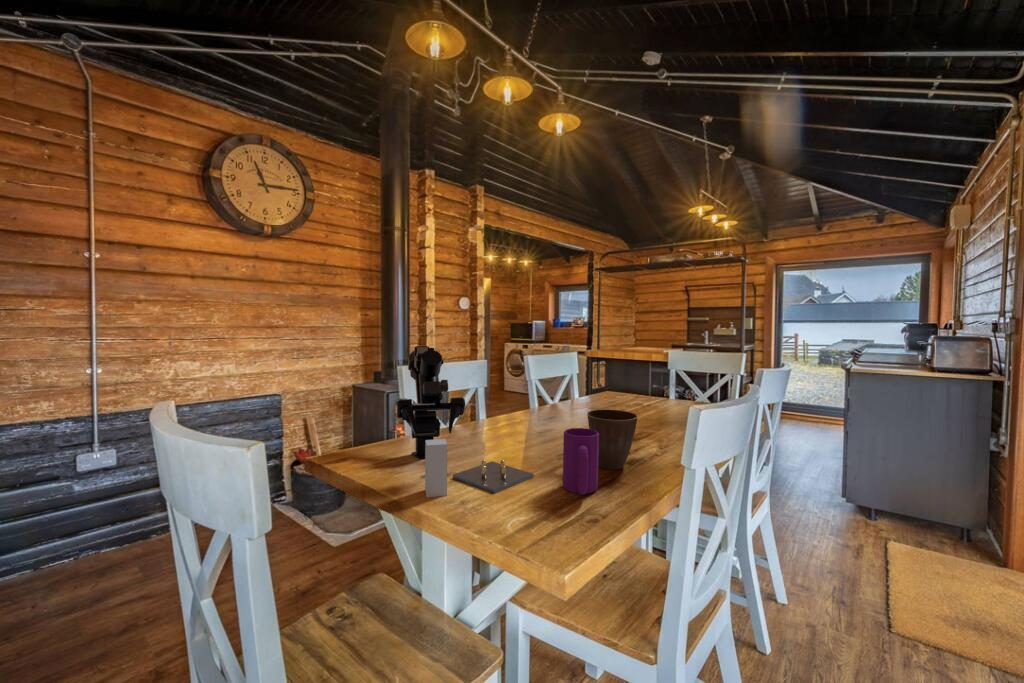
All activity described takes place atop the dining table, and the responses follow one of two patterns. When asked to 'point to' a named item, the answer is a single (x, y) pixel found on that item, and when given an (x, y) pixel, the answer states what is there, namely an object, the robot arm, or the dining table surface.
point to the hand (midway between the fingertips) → (433, 433)
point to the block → (436, 467)
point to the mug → (580, 460)
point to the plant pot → (613, 436)
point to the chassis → (493, 476)
